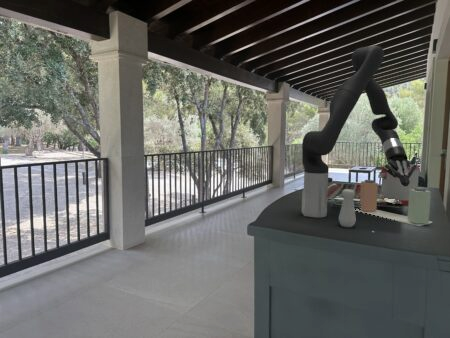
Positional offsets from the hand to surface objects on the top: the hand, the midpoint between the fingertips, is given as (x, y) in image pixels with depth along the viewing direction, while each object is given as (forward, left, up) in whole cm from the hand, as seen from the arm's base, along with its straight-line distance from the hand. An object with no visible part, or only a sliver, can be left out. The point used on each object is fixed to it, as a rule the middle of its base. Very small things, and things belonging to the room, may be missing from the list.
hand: (406, 185), depth 132 cm
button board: (-5, +2, -13) cm, 14 cm away
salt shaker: (-26, -13, -13) cm, 32 cm away
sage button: (+1, -9, -13) cm, 16 cm away
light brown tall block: (-10, +10, -13) cm, 19 cm away
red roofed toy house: (+10, +28, -13) cm, 33 cm away
